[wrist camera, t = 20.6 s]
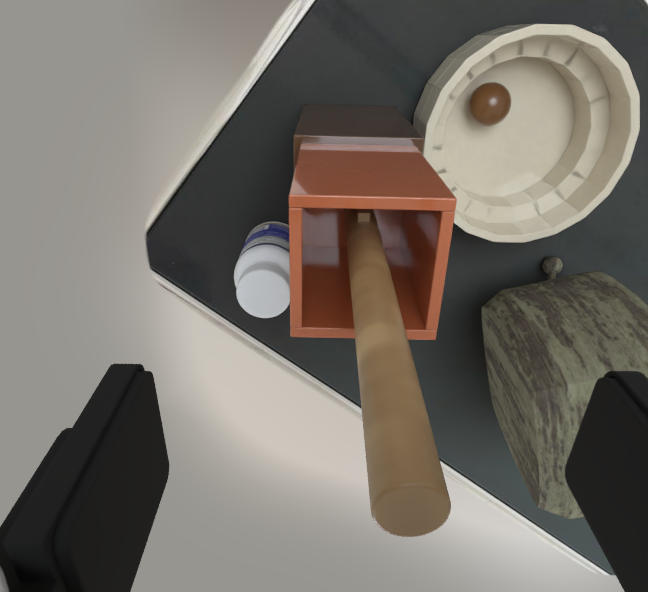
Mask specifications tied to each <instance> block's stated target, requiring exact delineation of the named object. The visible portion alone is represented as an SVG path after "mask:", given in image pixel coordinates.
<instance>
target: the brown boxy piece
mask: <svg viewBox="0 0 648 592" xmlns="http://www.w3.org/2000/svg"><path fill="white" fill-rule="evenodd" d="M293 138H294V175H293V180H292V184H291V188H290V192H289V263H290V336H291V337H320V338H355V330H354V319H353V308H352V297H351V286H350V275H349V264H348V253H347V243H346V232H345V221H344V210H343V209H374V212H375V216H376V220H377V224H378V228H379V231H380V235H381V239H382V243H383V247H384V251H385V254H386V258H387V262H388V266H389V270H390V273H391V277H392V281H393V285H394V289H395V292H396V296H397V300H398V304H399V308H400V312H401V315H402V319H403V323H404V327H405V331H406V334H407V338H408V339H414V340H436V335H437V329H438V322H439V316H440V309H441V302H442V296H443V289H444V283H445V276H446V270H447V263H448V256H449V250H450V243H451V237H452V230H453V224H454V217H455V210H456V204H457V198H456V197H455V195H454V194H453V193H452V192H451V190H450V189H449V188H448V186H447V185H446V184H445V183H444V181H443V180H442V179H441V177H440V176H439V175H438V174H437V172H436V171H435V170H434V169H433V167H432V166H431V165H430V163H429V162H428V161H427V160H426V158H425V157H424V156H423V154H422V153H423V145H424V138H423V137H422V136H421V135H420V133H419V132H418V131H417V130H416V129H415V128H414V127H413V126H412V125H411V124H410V122H409V121H408V120H407V119H406V118H405V117H404V116H403V115H402V114H401V113H400V112H399V110H398V109H397V108H396V107H395V106H365V105H323V104H304V105H303V109H302V112H301V115H300V118H299V121H298V124H297V127H296V130H295V133H294V136H293Z"/></svg>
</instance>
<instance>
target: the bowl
mask: <svg viewBox="0 0 648 592" xmlns="http://www.w3.org/2000/svg"><path fill="white" fill-rule="evenodd" d="M488 82H496V83H500V84H502V85H503V86H505V87H506V88H507V90H508V91H509V93H510V95H511V108H510V111H509V113H508V115H507V116H506V118H505V119H504V120H503V121H501V122H500V123H498V124H496V125H493V126H481V125H479V124H477V123H475V122H474V121H473V120H472V119H471V117H470V115H469V112H468V101H469V98H470V96H471V94H472V93H473V91H474V90H475V89H476V88H477V87H479V86H480V85H482V84H484V83H488ZM413 127H414V128H415V129H416V130H417V131H418V132H419V133H420V135H421V136H422V137H423V138H424V145H423V153H422V154H423V156H424V157H425V158H426V160H427V161H428V162H429V163H430V165H431V166H432V167H433V169H434V170H435V171H436V172H437V174H438V175H439V176H440V177H441V179H442V180H443V181H444V183H445V184H446V185H447V186H448V188H449V189H450V190H451V192H452V193H453V194H454V195H455V197H456V198H457V204H456V210H455V217H454V223H455V224H456V225H458V226H459V227H460V228H461V229H463V230H464V231H465V232H467V233H469V234H472V235H475V236H478V237H481V238H484V239H487V240H489V241H492V242H519V243H523V242H528V241H532V240H536V239H540V238H543V237H547V236H551V235H554V234H557V233H559V232H560V231H562V230H564V229H566V228H567V227H569V226H571V225H573V224H575V223H576V222H578V221H580V220H582V219H583V218H585V217H586V216H587V215H588V214H589V213H590V212H591V211H592V210H593V209H594V208H595V207H597V206H598V205H599V204H600V203H601V202H602V201H603V200H604V199H605V198H606V197H607V196H608V195H609V193H611V191H612V190H613V188H614V186H615V185H616V183H617V182H618V180H619V179H620V177H621V175H622V174H623V172H624V171H625V169H626V168H627V166H628V163H630V159H631V156H632V153H633V150H634V146H635V143H636V140H637V137H638V134H639V129H640V96H639V92H638V89H637V87H636V84H635V81H634V78H633V76H632V73H631V70H630V68H629V65H628V63H627V61H626V60H625V59H624V58H623V57H622V56H621V55H620V54H619V53H618V52H617V51H616V50H615V49H614V48H613V46H612V45H611V44H610V43H609V42H608V41H607V40H606V39H604V38H603V37H600V36H598V35H596V34H594V33H591V32H589V31H587V30H584V29H582V28H580V27H577V26H575V25H565V24H521V25H507V26H504V27H500V28H497V29H494V30H491V31H488V32H485V33H482V34H479V35H477V36H475V37H473V38H472V39H471V40H469V41H468V42H466V43H465V44H464V45H462V46H461V47H459V48H458V49H457V50H455V51H454V52H452V53H451V54H450V55H449V56H448V57H447V58H446V59H445V60H444V61H443V63H442V64H441V65H440V66H439V68H438V69H437V70H436V71H435V73H434V74H433V75H432V77H431V78H430V79H429V80H428V82H427V83H426V85H425V88H424V90H423V93H422V95H421V98H420V100H419V102H418V105H417V107H416V110H415V113H414V119H413Z"/></svg>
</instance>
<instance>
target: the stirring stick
mask: <svg viewBox="0 0 648 592" xmlns="http://www.w3.org/2000/svg"><path fill="white" fill-rule="evenodd" d="M343 210H344V221H345V232H346V243H347V253H348V264H349V275H350V286H351V297H352V308H353V319H354V330H355V341H356V352H357V363H358V374H359V385H360V396H361V407H362V417H363V428H364V439H365V450H366V461H367V472H368V483H369V494H370V505H371V513H372V517H373V519H374V521H375V522H376V524H377V525H378V526H379V527H380V528H381V529H382V530H384V531H386V532H388V533H390V534H393V535H397V536H402V537H415V536H421V535H425V534H428V533H430V532H432V531H434V530H436V529H437V528H439V527H440V526H442V525H443V524H444V523H445V521H446V520H447V518H448V516H449V514H450V509H451V502H450V498H449V494H448V491H447V487H446V483H445V480H444V475H443V472H442V468H441V464H440V460H439V456H438V452H437V449H436V445H435V441H434V437H433V433H432V430H431V426H430V422H429V418H428V414H427V411H426V407H425V403H424V399H423V395H422V392H421V388H420V384H419V380H418V376H417V372H416V369H415V365H414V361H413V357H412V353H411V350H410V346H409V342H408V338H407V334H406V331H405V327H404V323H403V319H402V315H401V312H400V308H399V304H398V300H397V296H396V292H395V289H394V285H393V281H392V277H391V273H390V270H389V266H388V262H387V258H386V254H385V251H384V247H383V243H382V239H381V235H380V231H379V228H378V224H377V220H376V216H375V212H374V209H343Z"/></svg>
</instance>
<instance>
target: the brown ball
mask: <svg viewBox="0 0 648 592" xmlns="http://www.w3.org/2000/svg"><path fill="white" fill-rule="evenodd" d="M510 108H511V95H510V93H509V91H508V90H507V88H506V87H505V86H503V85H502V84H500V83H496V82H488V83H484V84H482V85H480V86H479V87H477V88H476V89H475V90H474V91H473V93H472V94H471V96H470V98H469V101H468V112H469V115H470V117H471V119H472V120H473V121H474V122H475V123H477V124H479V125H481V126H493V125H496V124H498V123H500V122H501V121H503V120H504V119H505V118H506V116H507V115H508V113H509V111H510Z"/></svg>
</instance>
